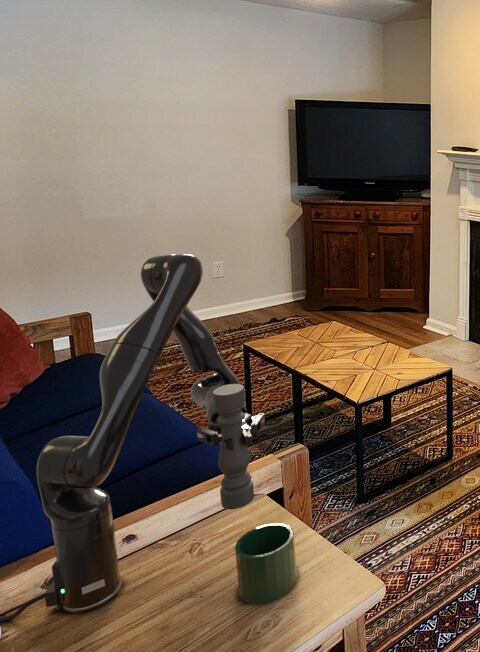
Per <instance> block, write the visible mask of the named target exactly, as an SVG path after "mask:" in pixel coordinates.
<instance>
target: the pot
mask: <svg viewBox="0 0 480 652" xmlns="http://www.w3.org/2000/svg"><path fill="white" fill-rule="evenodd" d="M295 544H296V543H295V532H294V529H293V528H292V527H291V526H290V525H289V524H285V523H281V522H280V523H277V522H276V523H275V522H273V523H268V524H262V525H260V526H256V527H254V528H252V529H250V530H248V531H246V532H245V533H244V534H242V535H241V536H240V537H239V538H238V540H237V541H236V543H235V546H234V551H235V552H234V553H235V563H236V574H237V575H236V576H237V586H238V589H237V590H238V596H239V598H240V599H241V600H242V601H243V602H245V603H248V604H256V605H257V604H258V605H259V604H264V603H269V602H273V601H274V600H277V599H279V598H281V597H283V596H284V595H286V594H287V593H288V592H289V591H290V590H291V589H292V588H293V587H294V585H295V583H296V582H297V576H298V573H297V572H298V569H297V557H296V545H295Z"/></svg>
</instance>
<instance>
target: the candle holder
mask: <svg viewBox="0 0 480 652" xmlns="http://www.w3.org/2000/svg"><path fill="white" fill-rule="evenodd" d="M213 399H214V407H215V409H216V411H217V412H218V413H219V415H220V416H219V417H218V418H217V423H218V424H219V425H220V426H221V432H222V441H221V443H220V447H219V454H218V459H217V465H218V468H219V470H220V471H221V472H222V473H223V476H224V477H223V478H222V480H221V481H220V485H221V487H220V489H219V494H220V504H221V507H222V508H223V509H225V510H237V509H241V508H243V507H245V506H247V505H250V504H251V502H253V501H254V499H255V491H254V482H253V480H252V475H251V473H250V472H249V471H247V470H248V466H249V464H250V463H251V460H252V459H251V458H252V455H251V452H250V450H249V447H248V446H245V444H244V438H243V429H242V421H243V420H244V418H245V414H244V413H243V412H241V411H242V408H243V406H244V407H245V403H246V393H245V386H244V385H243V384H241V383H240V384H229V385H224V386H221V387H218V388H216V389H215V390H214V391H213ZM228 439H232V441H233V450H230V451H229V449H225V447H224V440H225V441H228Z"/></svg>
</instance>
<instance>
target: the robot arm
mask: <svg viewBox="0 0 480 652" xmlns="http://www.w3.org/2000/svg"><path fill="white" fill-rule="evenodd" d="M203 269H204V268H203V265H202V262H201V259H200V258H198V256H195V255H194V254H187V253H177V254H163V255H162V254H161V255H155V256H151V257H148V258H147V259H146V260H145V261H144V262H143V264H142V266H141V269H140V279H141V283H142V285H143V287H144V289H145V291H146V292H147V294H148V296H149V298H150V299H151V300H152V303H151V304H150V305H149V306H148V308H146V309H145V310H144V311H143V312H142V313H141V314H140V315H139V316H137V317H136V318H135V319H134V320H133V321H132V322H131V323H129V324H128V325H127V326H126V327H125V328H123V330H122V331H121V332H120V333H119V334H118V335H117V336H116V338H115V339H114V341H113V342H112V344H111V346H110V348H109V349H108V351H107V353H106V355H105V357H104V358H103V361H102V363H101V365H100V369H99V386H100V392H101V402H102V404H101V412H100V414H99V416H98V419H97V421H96V423H95V426H94V428H93V430H92V431H91V433H90V435H89V436H88V435H87V436H85V435H63V436H62V435H61V436H58V437H56V438H53V439H52V440H50V441H49V442H48V443H47V444H46V445H44V447H43V449H42V450H41V451H40V454H39V456H38V459H37V464H36V480H37V486H38V489H39V494H40V499H41V504H42V509H43V512H44V514H45V515H46V517H48V519H49V520H50V524H51V530H52V538H53V544H54V552H55V559H56V560H55V561H54V562H53V564H51V565H52V566H51V574H52V580H53V581H52V582H51V584H50V585H49V587H48V588H47V589H46V591H45V592H44V593H42V594H39V595H37V596H36V597H34V598H32V599H30V600H28V601H27V602H24V603H23V604H22V605H21V606H20V607H19V608H18V609H17V610H16V611H15V612H14V613H12V614H10V615H7V616H0V623H2V622H7V621H10V620H13V619H15V618H17V617H19V616H20V615H21V613H23V612H24V610H26V609H27V608H28V607H30V606H32V605H33V604H34V603H37V602H38V601H40V600H43V599H44V600H45V607H46V608H50V607H55V606H56V608H57V609H56V610H57V611H58V612H59V611H64V612H66V613H71V614H72V613H73V614H76V613H84V612H87V611H91V610H93V609H96V608H99V607H101V606H103V605H104V604H106V603H108V602H109V601H110V600H112V599H113V598H114V597H115V596H116V595H117V594H118V593H119V591H121V588H122V580H121V574H120V567H119V566H120V565H119V558H118V549H117V543H116V533H115V526H114V525H115V524H114V518H113V509H112V500H111V497H110V494H109V493H108V492H107V491H105V490H104V489H101V488H99V487H98V486H100V485H101V484H102V483H103V482H104V481H105V480H106V479H107V478H108V477H109V475H110V474H111V472H112V470H113V469H114V467H115V465H116V462H117V460H118V458H119V456H120V453H121V450H122V447H123V444H124V441H125V439H126V437H127V433H128V430H129V428H130V425H131V421H132V419H133V417H134V414H135V412H136V410H137V407H138V405H139V403H140V400H141V398H142V396H143V393H144V392H145V390H146V387H147V385H148V383H149V381H150V379H151V378H152V376H153V373H154V372H155V369H156V367H157V366H158V364H159V361H160V359H161V357H162V355H163V352H164V350H165V348H166V345H167V343H168V341H169V339H170V337H171V335H172V333H173V334H174V336H175V338H176V340H177V342H178V344H179V346H180V349H181V351H182V353H183V354H182V355H183V356H184V358H185V360H186V363H187V366H188V368H189V370H190V371H191V372H192V373H195V374H203V373H209V372H215V373H212V374H209V375H207V376H205V377H202V378H200V379H197V380H196V381H194V383H193V384H192V385H191V387H190V397H191V399H192V401H193V403H195V405H196V406H198V407H199V408H201V409H202V410H205V415H206V420H207V422H208V427H203V426H201V427H200V426H199V427H198V428H197V429H196V433H197V434H196V435H197V441H199V442H202V443H204V444H207V445H210V446H212V447H217V446H219V444H221V441H222V432H221V426H220V425H219V424H218V423H217V418H218V417H219V416H220V415H219V413H218V412H217V411H216V409H215V407H214V399H213V391H214V390H215V389H216V388H218V387H221V386H224V385H229V384H241V382H240V379H239V377H238V376H237V374H236V373H235V372H234V371H233V369H231V368H230V367H229V366H228V364H227V363H226V361H225V360H224V359H223V357H222V356H221V353H220V350H219V348H218V345H217V343H216V339H215V338H214V336H213V333H212V332H211V330H210V329H209V327H208V326H207V325H206V324H205V323H204V322H203V321H202V320H201V319H200V318H199V317H197V315H195V313H194V312H193V311H192V310H191V309H190V308H189V307H188V305H189V303H190V302H191V300H192V298H193V296H194V295H195V294H196V292H197V290H198V288H199V287H200V284H201V282H202V278H203V273H204V271H203ZM241 412H243V413H244V414H245V418H244V420H243V421H242V429H243V438H244V444H245V446H247V447H248V446H250V444H251V443H252V442H253V438H252V437H255V436H258V435H259V433H260V432H261V431H262V429H263V428H264V425H265V422H266V421H265V420H266V419H265V413H264V412H259V413H258V414H257V415H255V416H253V415H252V414H250V413H248V411H247V409H246V406H245V405H244V406H243V408H242V411H241ZM224 447H225V449H229V451H230V450H233V441H232V439H228V441H225V440H224Z"/></svg>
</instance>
